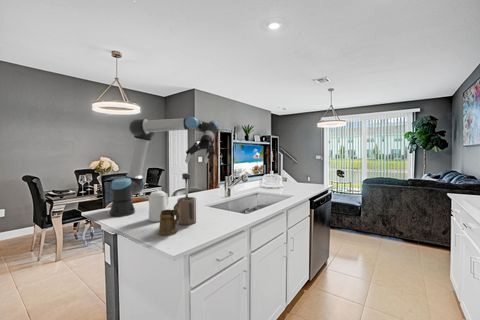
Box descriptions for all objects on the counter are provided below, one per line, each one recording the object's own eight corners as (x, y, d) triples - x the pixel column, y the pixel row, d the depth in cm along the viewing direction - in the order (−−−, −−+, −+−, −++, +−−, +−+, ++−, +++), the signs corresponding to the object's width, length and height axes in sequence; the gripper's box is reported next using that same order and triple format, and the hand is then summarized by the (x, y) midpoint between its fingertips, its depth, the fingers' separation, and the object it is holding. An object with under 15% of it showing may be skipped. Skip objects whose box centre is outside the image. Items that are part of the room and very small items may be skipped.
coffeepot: (136, 225, 130) (135, 192, 129) (160, 213, 155) (159, 185, 154) (154, 227, 128) (153, 193, 127) (175, 214, 152) (175, 186, 152)
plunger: (179, 205, 135) (179, 173, 134) (189, 203, 139) (188, 172, 138) (184, 207, 130) (183, 174, 130) (194, 205, 134) (193, 173, 133)
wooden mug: (178, 237, 112) (177, 200, 111) (154, 235, 116) (153, 199, 115) (187, 231, 120) (187, 196, 119) (165, 229, 124) (164, 195, 123)
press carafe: (175, 222, 136) (174, 198, 135) (191, 219, 142) (190, 196, 141) (184, 227, 126) (184, 201, 126) (201, 223, 133) (200, 199, 132)
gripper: (189, 135, 159) (176, 157, 145) (222, 133, 150) (211, 157, 136) (193, 143, 164) (181, 165, 150) (225, 142, 155) (215, 166, 141)
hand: (195, 162), depth 143 cm, fingers open, 13 cm apart
